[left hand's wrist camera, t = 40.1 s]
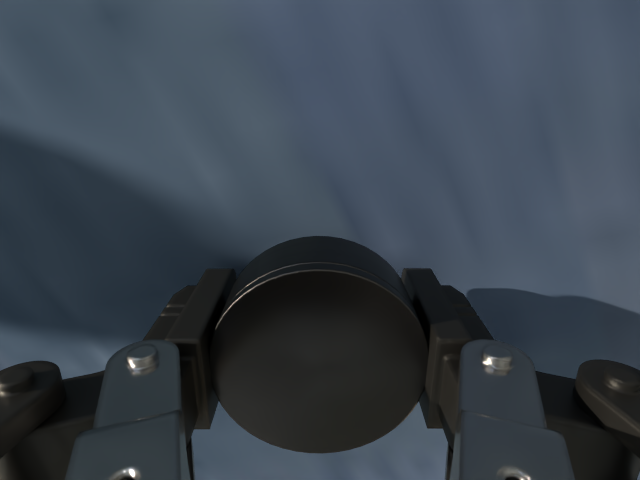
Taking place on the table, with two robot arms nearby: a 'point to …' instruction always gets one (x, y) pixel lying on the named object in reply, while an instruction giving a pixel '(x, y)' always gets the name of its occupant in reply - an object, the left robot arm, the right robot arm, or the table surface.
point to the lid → (318, 347)
